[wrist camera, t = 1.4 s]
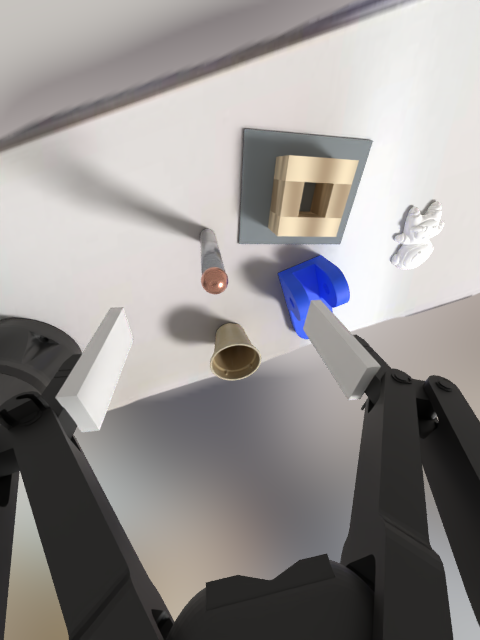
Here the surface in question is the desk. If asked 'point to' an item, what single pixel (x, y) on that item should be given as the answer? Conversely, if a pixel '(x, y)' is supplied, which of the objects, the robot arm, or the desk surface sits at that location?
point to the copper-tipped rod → (212, 264)
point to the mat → (260, 179)
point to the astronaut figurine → (418, 237)
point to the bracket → (312, 288)
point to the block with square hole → (327, 197)
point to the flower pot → (234, 354)
